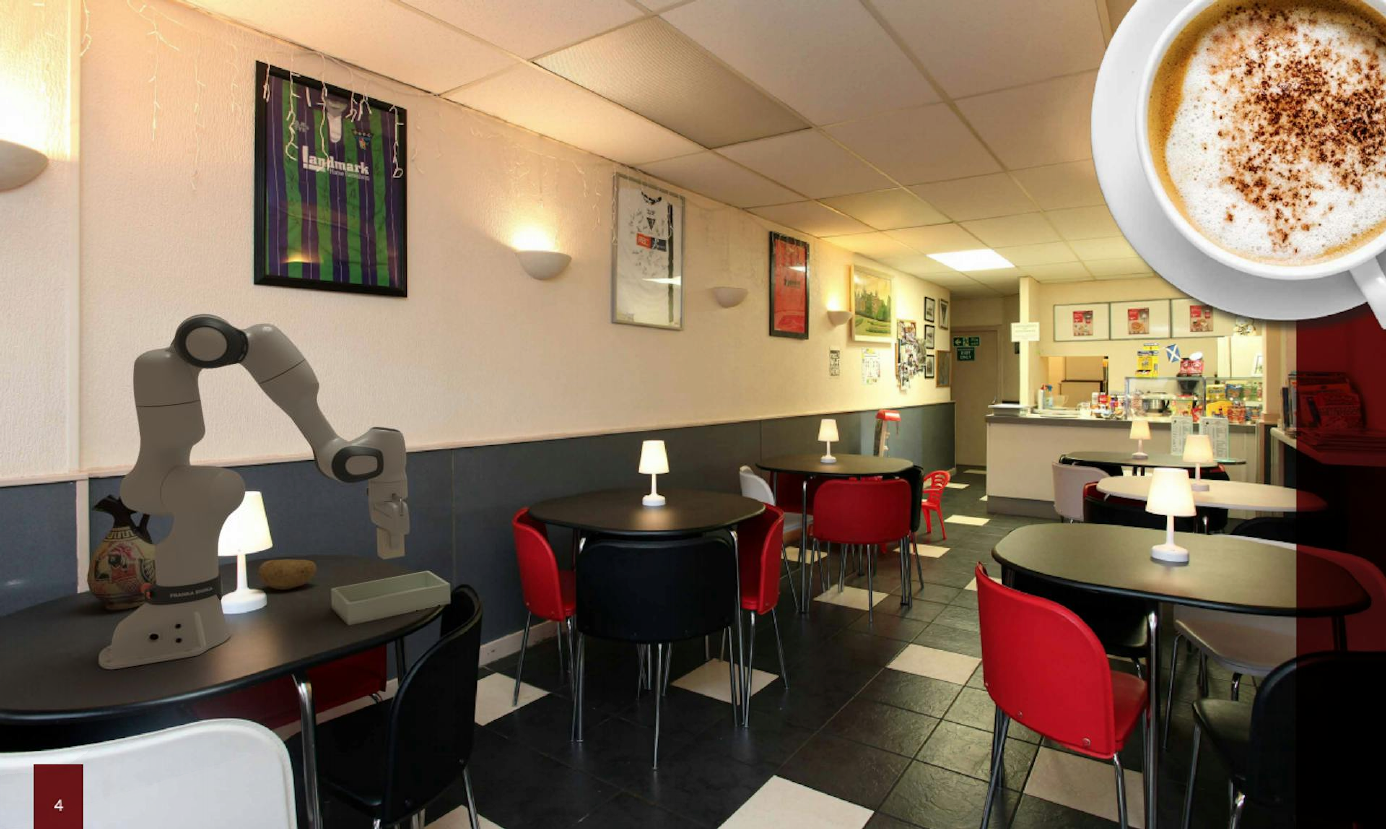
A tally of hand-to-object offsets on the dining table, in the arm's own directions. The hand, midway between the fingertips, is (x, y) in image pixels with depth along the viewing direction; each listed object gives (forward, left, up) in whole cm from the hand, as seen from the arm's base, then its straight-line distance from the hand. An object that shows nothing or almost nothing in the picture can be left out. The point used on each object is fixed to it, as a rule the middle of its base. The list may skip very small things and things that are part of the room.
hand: (390, 546), depth 175 cm
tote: (0, 0, -15) cm, 15 cm away
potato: (-17, +33, -16) cm, 40 cm away
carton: (0, 0, -2) cm, 2 cm away
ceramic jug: (-50, +44, -16) cm, 69 cm away
